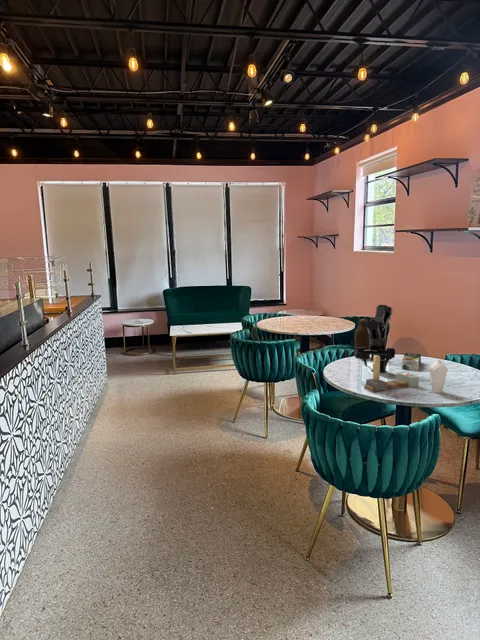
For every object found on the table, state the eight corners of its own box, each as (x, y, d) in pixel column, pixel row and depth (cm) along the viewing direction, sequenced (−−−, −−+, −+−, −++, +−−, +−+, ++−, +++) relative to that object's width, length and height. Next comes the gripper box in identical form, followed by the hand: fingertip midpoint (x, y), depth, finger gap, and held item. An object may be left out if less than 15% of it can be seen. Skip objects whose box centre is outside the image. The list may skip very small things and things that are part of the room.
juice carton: (419, 371, 240) (419, 360, 239) (400, 369, 244) (401, 359, 243) (421, 363, 258) (421, 353, 257) (403, 362, 262) (404, 352, 261)
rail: (399, 383, 218) (399, 379, 218) (407, 386, 212) (407, 382, 212) (364, 388, 211) (364, 384, 210) (372, 392, 205) (372, 388, 205)
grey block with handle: (375, 384, 214) (376, 353, 212) (386, 389, 206) (387, 357, 204) (365, 386, 212) (366, 354, 210) (376, 390, 204) (377, 358, 202)
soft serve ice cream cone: (445, 395, 198) (447, 362, 196) (426, 392, 202) (427, 360, 200) (447, 390, 205) (449, 358, 202) (429, 387, 209) (430, 356, 207)
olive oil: (363, 360, 267) (364, 321, 263) (350, 357, 276) (351, 319, 272) (374, 357, 273) (375, 319, 269) (361, 354, 282) (362, 317, 278)
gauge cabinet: (404, 381, 221) (404, 370, 221) (418, 386, 212) (418, 375, 211) (396, 382, 220) (397, 371, 219) (410, 387, 210) (410, 376, 210)
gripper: (356, 331, 215) (357, 357, 206) (395, 332, 211) (397, 359, 202) (356, 343, 224) (356, 369, 215) (393, 344, 220) (395, 370, 211)
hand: (375, 366), depth 210 cm, fingers open, 9 cm apart
